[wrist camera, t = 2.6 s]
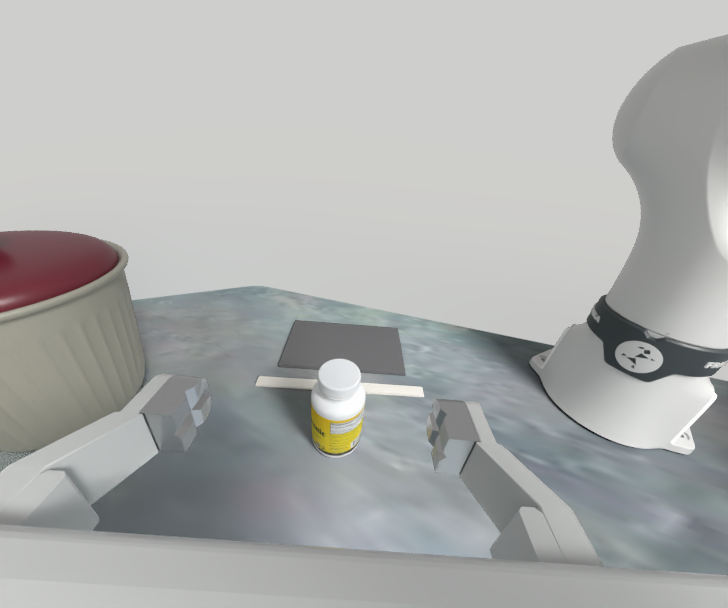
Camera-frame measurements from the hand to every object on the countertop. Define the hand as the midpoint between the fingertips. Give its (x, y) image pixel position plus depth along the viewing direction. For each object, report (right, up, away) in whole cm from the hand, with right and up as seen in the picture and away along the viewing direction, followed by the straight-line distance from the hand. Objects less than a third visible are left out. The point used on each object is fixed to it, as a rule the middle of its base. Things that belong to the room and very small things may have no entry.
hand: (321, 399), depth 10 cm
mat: (-2, -3, +34) cm, 34 cm away
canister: (-31, -8, +21) cm, 38 cm away
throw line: (-2, -8, +27) cm, 28 cm away
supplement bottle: (-2, -11, +21) cm, 24 cm away
